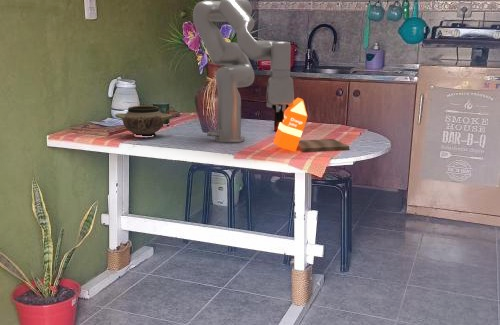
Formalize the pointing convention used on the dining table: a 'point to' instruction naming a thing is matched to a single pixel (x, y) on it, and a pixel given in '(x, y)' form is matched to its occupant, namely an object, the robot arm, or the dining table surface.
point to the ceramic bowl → (143, 119)
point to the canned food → (276, 122)
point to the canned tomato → (163, 109)
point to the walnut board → (321, 145)
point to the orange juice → (291, 126)
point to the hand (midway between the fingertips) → (279, 121)
